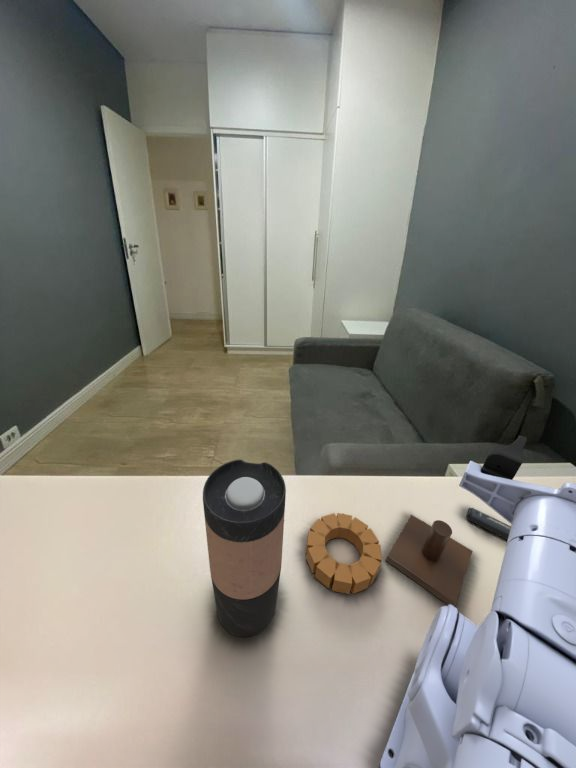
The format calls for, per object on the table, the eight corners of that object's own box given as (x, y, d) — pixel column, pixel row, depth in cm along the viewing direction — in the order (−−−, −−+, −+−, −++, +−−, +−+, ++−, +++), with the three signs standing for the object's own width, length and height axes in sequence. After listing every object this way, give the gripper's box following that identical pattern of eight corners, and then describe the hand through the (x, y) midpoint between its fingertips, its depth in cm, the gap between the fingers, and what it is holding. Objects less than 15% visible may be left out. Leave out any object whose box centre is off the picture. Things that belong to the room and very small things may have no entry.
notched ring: (355, 611, 37) (358, 601, 36) (291, 557, 43) (292, 547, 42) (389, 552, 44) (393, 542, 43) (331, 512, 50) (333, 502, 48)
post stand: (452, 608, 38) (471, 578, 35) (385, 560, 43) (396, 529, 40) (469, 555, 44) (487, 526, 41) (409, 519, 49) (420, 489, 46)
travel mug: (236, 658, 33) (229, 542, 23) (203, 596, 38) (186, 480, 28) (291, 608, 37) (304, 493, 27) (255, 559, 42) (256, 447, 32)
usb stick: (535, 543, 47) (539, 536, 46) (535, 556, 45) (539, 550, 44) (467, 510, 51) (470, 503, 51) (464, 520, 50) (467, 514, 49)
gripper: (760, 621, 16) (700, 468, 25) (462, 478, 24) (496, 400, 33) (670, 668, 20) (645, 521, 29) (438, 532, 28) (475, 449, 36)
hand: (564, 460), depth 31 cm, fingers open, 7 cm apart
